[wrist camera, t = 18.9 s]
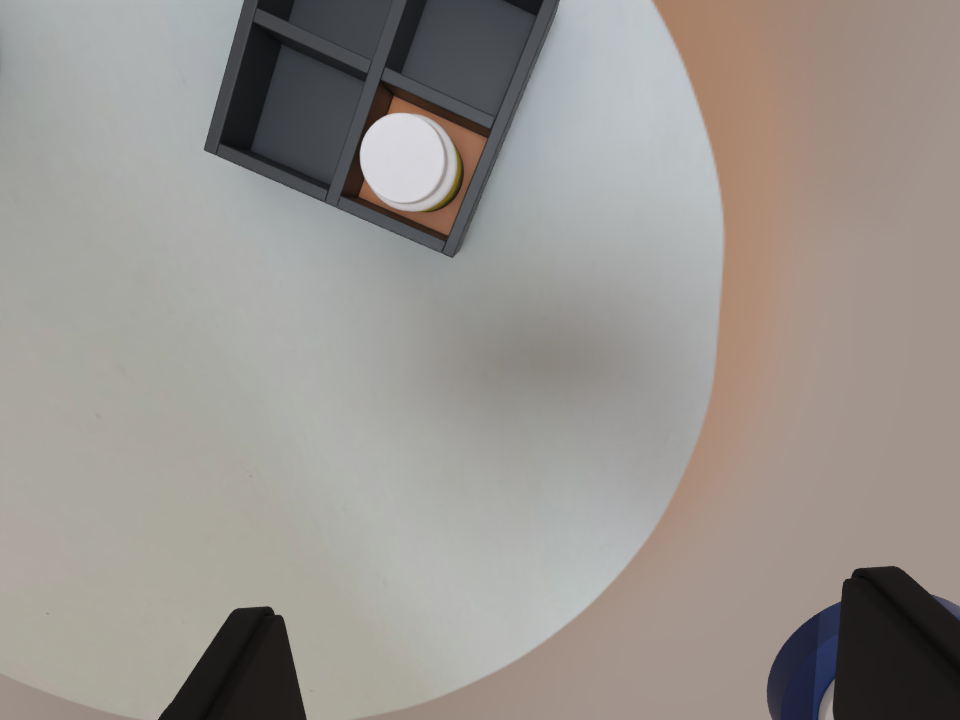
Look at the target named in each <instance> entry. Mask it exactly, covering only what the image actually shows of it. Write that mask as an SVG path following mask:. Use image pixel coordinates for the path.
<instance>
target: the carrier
mask: <svg viewBox="0 0 960 720" xmlns="http://www.w3.org/2000/svg"><path fill="white" fill-rule="evenodd" d="M559 1H560V0H244V3H243V7H242V10H241V14H240V18H239V21H238V25H237V29H236V32H235V36H234V40H233V44H232V47H231V51H230V55H229V58H228V62H227V66H226V69H225V73H224V77H223V80H222V84H221V88H220V92H219V95H218V99H217V103H216V106H215V110H214V114H213V117H212V121H211V125H210V128H209V132H208V136H207V140H206V143H205V147H204V150H205V151H207V152H209V153H212V154H214V155H217V156H219V157H221V158H223V159H226V160H228V161H230V162H233V163H235V164H237V165H239V166H242V167H244V168H246V169H249V170H251V171H253V172H256V173H258V174H260V175H263V176H265V177H267V178H269V179H272V180H274V181H276V182H279V183H281V184H283V185H286V186H288V187H290V188H292V189H295V190H297V191H299V192H302V193H304V194H306V195H309V196H311V197H313V198H316V199H318V200H320V201H322V202H325V203H327V204H329V205H332V206H334V207H337V208H338V209H341V210H343V211H345V212H348V213H350V214H352V215H355V216H357V217H359V218H361V219H364V220H366V221H368V222H371V223H373V224H375V225H378V226H380V227H382V228H385V229H387V230H389V231H391V232H394V233H396V234H398V235H401V236H403V237H405V238H408V239H410V240H412V241H415V242H417V243H419V244H421V245H424V246H426V247H428V248H431V249H433V250H435V251H438V252H440V253H443V254H445V255H447V256H449V257H452V258H453V257H454V256H455V255H456V254H457V252H459V249H460V247H461V244H462V242H463V239H464V237H465V235H466V232H467V230H468V227H469V225H470V222H471V220H472V217H473V215H474V213H475V210H476V208H477V205H478V203H479V200H480V198H481V195H482V193H483V191H484V188H485V186H486V183H487V181H488V178H489V176H490V173H491V171H492V169H493V166H494V164H495V161H496V159H497V156H498V154H499V152H500V149H501V147H502V144H503V142H504V139H505V137H506V134H507V132H508V130H509V127H510V125H511V122H512V120H513V117H514V115H515V112H516V110H517V108H518V105H519V103H520V100H521V98H522V95H523V93H524V91H525V88H526V86H527V83H528V81H529V78H530V76H531V73H532V71H533V69H534V66H535V64H536V61H537V59H538V56H539V54H540V51H541V49H542V47H543V44H544V42H545V39H546V37H547V34H548V32H549V29H550V27H551V25H552V22H553V20H554V17H555V15H556V11H557V8H558V5H559ZM393 113H411V114H418V115H422V116H425V117H428V118H430V119H431V120H433V121H435V122H436V123H438V124H439V125H440V126H441V127H442V128H443V129H444V130H445V131H446V132H447V134H448V135H449V136H450V138H451V140H452V141H453V143H454V145H455V146H456V148H457V149H458V151H459V153H460V155H461V157H462V161H463V166H464V176H463V182H462V186H461V188H460V191H459V193H458V194H457V196H456V197H455V199H454V200H453V201H452V202H451V203H450V204H448V205H447V206H446V207H444V208H442V209H440V210H437V211H433V212H409V211H403V210H399V209H395V208H393V207H391V206H389V205H387V204H386V203H384V202H383V201H382V200H381V199H380V198H379V197H378V196H377V195H376V194H375V193H374V192H373V190H372V189H371V187H370V185H369V184H368V183H367V181H366V179H365V177H364V175H363V172H362V169H361V164H360V149H361V144H362V141H363V138H364V136H365V134H366V133H367V131H368V130H369V128H370V127H371V126H372V125H373V124H374V123H375V122H376V121H377V120H379V119H380V118H382V117H384V116H386V115H389V114H393Z"/></svg>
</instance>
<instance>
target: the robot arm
mask: <svg viewBox="0 0 960 720" xmlns="http://www.w3.org/2000/svg"><path fill="white" fill-rule="evenodd" d="M158 720H307V719H306V715H305V710H304V706H303V701H302V697H301V693H300V688H299V684H298V679H297V675H296V670H295V666H294V662H293V657H292V653H291V648H290V644H289V640H288V635H287V631H286V626H285V622H284V619H283V617H282V616H281V615H275V614H274V611H273V609H272V608H271V607H268V606H267V607H252V608H237V609H235V610H233V612H232V613H231V614H230V615H229V617H228V618H227V620H226V621H225V623H224V624H223V626H222V627H221V629H220V630H219V632H218V633H217V635H216V636H215V638H214V639H213V641H212V642H211V644H210V645H209V647H208V648H207V650H206V651H205V653H204V654H203V656H202V657H201V659H200V660H199V662H198V663H197V665H196V666H195V668H194V669H193V671H192V672H191V674H190V675H189V677H188V678H187V680H186V681H185V683H184V684H183V686H182V687H181V689H180V691H179V692H178V694H177V695H176V697H175V698H174V700H173V701H172V703H170V705H169V706H168V707H167V708H166V709H165V711H164V712H163V713H162V714H161V716H160V717H159V719H158ZM818 720H960V620H959V619H958V618H956V617H955V616H954V615H953V614H952V613H951V612H950V611H949V610H947V609H946V608H945V607H944V606H943V605H942V604H941V603H940V602H938V601H937V600H936V599H935V598H934V597H933V596H932V595H930V594H929V593H928V592H927V591H926V590H925V589H924V588H923V587H921V586H920V585H919V584H918V583H917V582H916V581H915V580H914V579H912V578H911V577H910V576H909V575H908V574H906V573H905V572H904V571H903V570H901V569H900V568H898V567H895V566H888V567H872V568H859V569H856V570H854V572H853V574H852V577H851V579H846V580H845V581H844V582H843V588H842V599H841V611H840V623H839V635H838V647H837V659H836V671H835V679H834V680H833V681H832V682H831V684H830V685H829V687H828V689H827V690H826V692H825V693H824V696H823V699H822V701H821V704H820V708H819V715H818Z"/></svg>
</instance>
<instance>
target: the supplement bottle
mask: <svg viewBox="0 0 960 720" xmlns="http://www.w3.org/2000/svg"><path fill="white" fill-rule="evenodd" d="M360 164H361V169H362V172H363V175H364V177H365V179H366V181H367V183H368V184H369V185H370V187H371V189H372V190H373V192H374V193H375V194H376V195H377V196H378V197H379V198H380V199H381V200H382V201H383V202H384V203H386V204H387V205H389V206H391V207H393V208H395V209H399V210H403V211H409V212H433V211H437V210H440V209H442V208H444V207H446V206H447V205H448V204H450V203H451V202H452V201H453V200H454V199H455V197H456V196H457V194H458V193H459V191H460V188H461V186H462V182H463V176H464V166H463V161H462V157H461V155H460V153H459V151H458V149H457V148H456V146H455V145H454V143H453V141H452V140H451V138H450V136H449V135H448V134H447V132H446V131H445V130H444V129H443V128H442V127H441V126H440V125H439V124H438V123H436V122H435V121H433V120H431V119H430V118H428V117H425V116H422V115H418V114H411V113H393V114H389V115H386V116H384V117H382V118H380V119H379V120H377V121H376V122H375V123H374V124H373V125H372V126H371V127H370V128H369V130H368V131H367V133H366V134H365V136H364V138H363V141H362V144H361V149H360Z"/></svg>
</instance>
